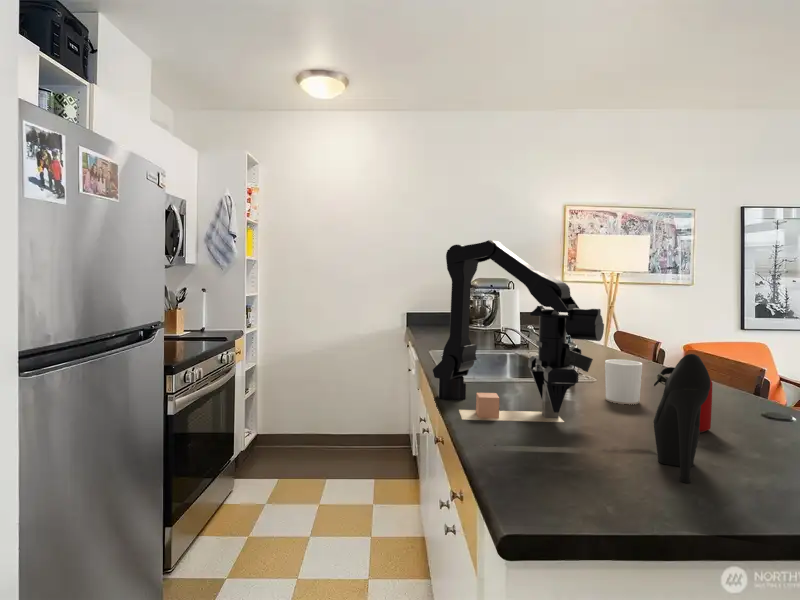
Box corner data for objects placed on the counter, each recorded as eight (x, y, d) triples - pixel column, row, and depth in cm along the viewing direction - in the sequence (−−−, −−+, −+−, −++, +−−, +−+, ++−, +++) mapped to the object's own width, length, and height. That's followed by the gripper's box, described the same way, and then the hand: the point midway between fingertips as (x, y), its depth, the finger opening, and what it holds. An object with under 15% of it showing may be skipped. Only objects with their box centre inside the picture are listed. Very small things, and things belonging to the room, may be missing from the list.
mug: (649, 404, 125) (650, 364, 125) (620, 406, 123) (621, 365, 122) (618, 394, 136) (619, 357, 136) (591, 396, 133) (592, 358, 133)
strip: (462, 423, 106) (462, 387, 105) (458, 413, 114) (459, 379, 113) (564, 425, 105) (565, 389, 105) (554, 415, 113) (555, 382, 113)
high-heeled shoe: (688, 450, 90) (693, 343, 90) (718, 492, 72) (724, 358, 72) (641, 445, 93) (645, 340, 92) (658, 483, 75) (663, 354, 74)
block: (478, 417, 107) (478, 397, 107) (475, 412, 112) (476, 392, 112) (499, 418, 107) (499, 397, 107) (495, 412, 112) (496, 393, 112)
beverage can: (708, 427, 106) (710, 372, 105) (713, 435, 100) (715, 377, 99) (672, 422, 109) (674, 369, 108) (675, 430, 103) (677, 374, 102)
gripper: (605, 343, 99) (602, 419, 99) (575, 333, 118) (573, 397, 118) (549, 342, 99) (547, 418, 100) (528, 332, 118) (526, 396, 118)
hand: (550, 406), depth 109 cm, fingers open, 9 cm apart
